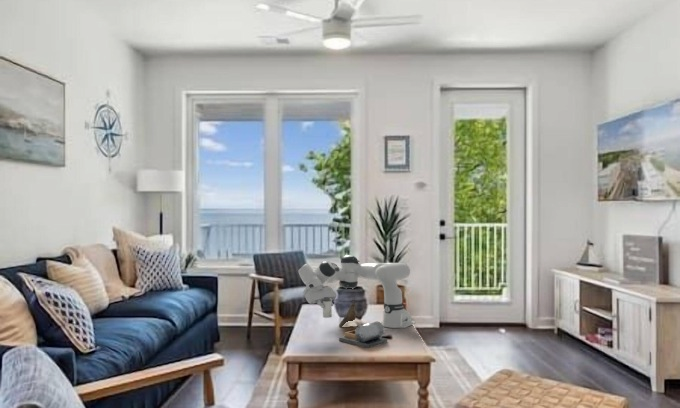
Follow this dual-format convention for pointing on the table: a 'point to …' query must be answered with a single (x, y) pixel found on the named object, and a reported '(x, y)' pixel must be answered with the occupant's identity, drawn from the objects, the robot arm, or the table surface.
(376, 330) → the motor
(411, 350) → the table surface
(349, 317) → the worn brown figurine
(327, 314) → the white capped bottle
